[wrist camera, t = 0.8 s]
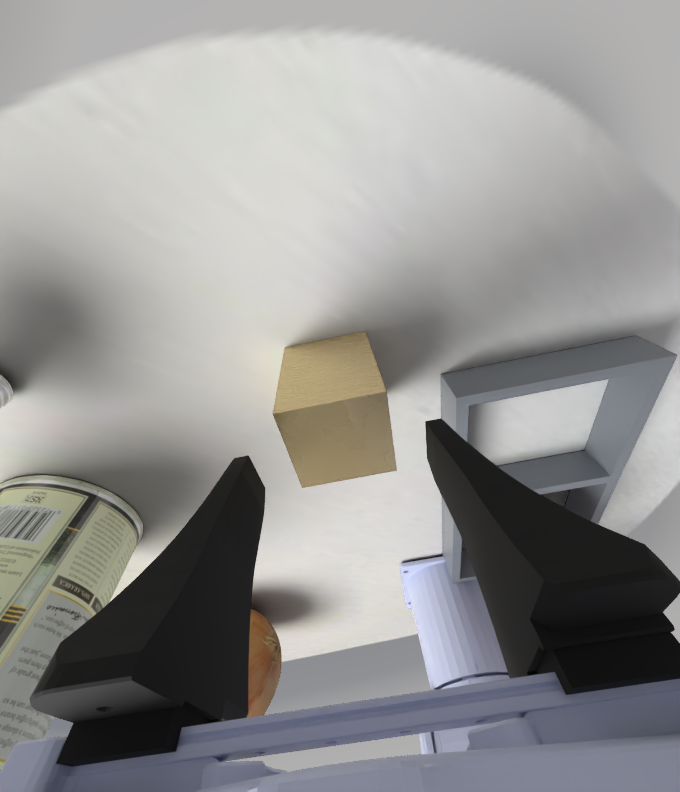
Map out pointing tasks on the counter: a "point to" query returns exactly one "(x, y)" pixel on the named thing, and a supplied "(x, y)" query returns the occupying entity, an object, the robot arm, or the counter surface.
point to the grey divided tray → (610, 436)
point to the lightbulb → (5, 392)
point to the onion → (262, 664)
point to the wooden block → (334, 411)
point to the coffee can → (52, 581)
